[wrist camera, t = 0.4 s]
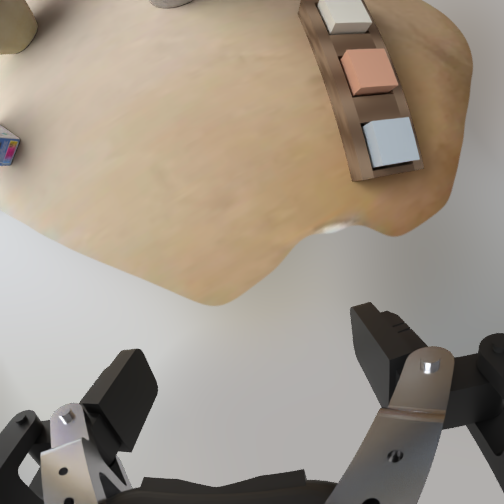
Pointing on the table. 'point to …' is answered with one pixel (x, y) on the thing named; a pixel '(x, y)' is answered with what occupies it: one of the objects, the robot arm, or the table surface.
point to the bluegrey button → (390, 141)
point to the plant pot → (16, 26)
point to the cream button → (344, 16)
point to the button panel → (358, 107)
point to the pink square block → (368, 72)
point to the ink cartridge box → (7, 146)
